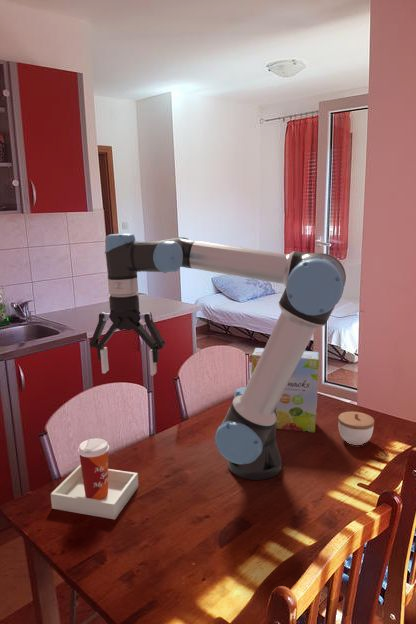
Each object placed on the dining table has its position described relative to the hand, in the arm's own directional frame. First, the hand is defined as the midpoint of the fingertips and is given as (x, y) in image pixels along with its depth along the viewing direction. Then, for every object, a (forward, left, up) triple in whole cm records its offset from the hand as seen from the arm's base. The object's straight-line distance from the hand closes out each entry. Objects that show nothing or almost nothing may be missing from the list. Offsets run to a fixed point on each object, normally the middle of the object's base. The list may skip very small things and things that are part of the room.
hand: (129, 372), depth 128 cm
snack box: (-37, -40, -30) cm, 62 cm away
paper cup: (+4, +13, -29) cm, 32 cm away
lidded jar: (-60, -34, -30) cm, 75 cm away
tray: (+4, +13, -29) cm, 32 cm away
